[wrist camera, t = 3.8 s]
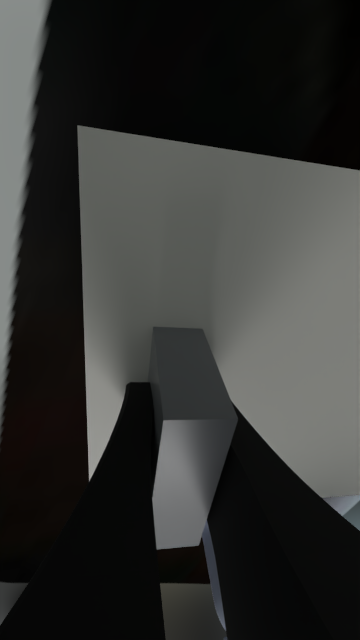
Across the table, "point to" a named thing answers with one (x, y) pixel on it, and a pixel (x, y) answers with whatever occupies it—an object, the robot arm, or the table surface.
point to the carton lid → (220, 312)
